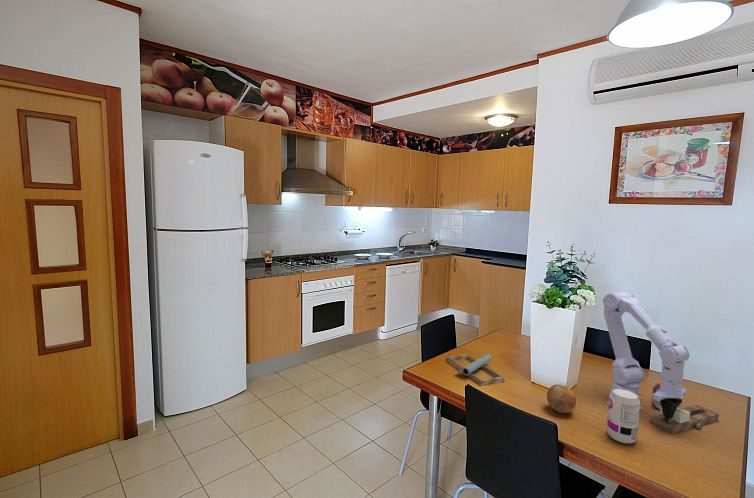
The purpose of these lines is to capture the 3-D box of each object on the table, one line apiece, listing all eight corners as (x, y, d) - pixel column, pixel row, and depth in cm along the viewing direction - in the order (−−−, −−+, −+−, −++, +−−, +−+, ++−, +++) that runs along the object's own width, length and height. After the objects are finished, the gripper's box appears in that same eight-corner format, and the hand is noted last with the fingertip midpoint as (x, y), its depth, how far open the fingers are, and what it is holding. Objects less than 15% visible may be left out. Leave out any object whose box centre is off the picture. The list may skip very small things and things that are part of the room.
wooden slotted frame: (675, 436, 122) (676, 429, 122) (645, 421, 131) (646, 414, 131) (722, 422, 131) (723, 416, 131) (691, 409, 140) (692, 403, 140)
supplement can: (603, 436, 121) (607, 393, 120) (610, 427, 127) (613, 385, 125) (633, 448, 115) (637, 402, 114) (638, 437, 121) (642, 393, 120)
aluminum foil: (468, 376, 159) (469, 369, 159) (455, 372, 164) (455, 364, 163) (491, 361, 176) (491, 355, 176) (478, 358, 181) (478, 351, 180)
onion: (575, 408, 138) (577, 383, 137) (574, 421, 130) (576, 394, 129) (547, 401, 143) (549, 377, 142) (544, 413, 135) (546, 387, 134)
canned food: (681, 401, 143) (682, 412, 134) (656, 401, 148) (656, 412, 139) (674, 381, 144) (675, 391, 135) (650, 382, 149) (649, 392, 140)
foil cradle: (480, 385, 155) (480, 381, 155) (446, 361, 181) (446, 357, 181) (504, 381, 159) (504, 377, 159) (467, 358, 185) (467, 354, 185)
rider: (679, 430, 125) (681, 414, 124) (659, 420, 131) (660, 405, 130) (688, 427, 127) (690, 411, 126) (668, 417, 133) (669, 402, 132)
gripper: (670, 387, 120) (666, 427, 121) (698, 381, 125) (694, 419, 126) (648, 378, 126) (644, 415, 128) (675, 373, 131) (671, 409, 133)
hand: (667, 417), depth 127 cm, fingers closed
